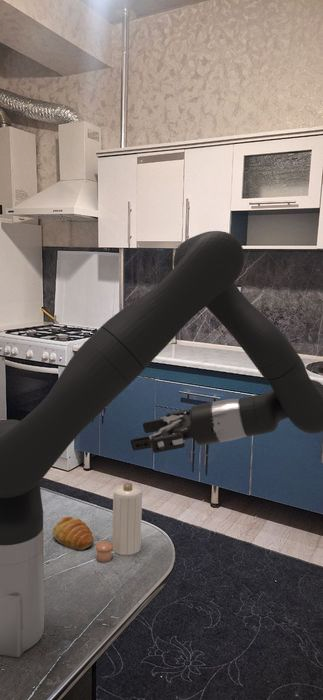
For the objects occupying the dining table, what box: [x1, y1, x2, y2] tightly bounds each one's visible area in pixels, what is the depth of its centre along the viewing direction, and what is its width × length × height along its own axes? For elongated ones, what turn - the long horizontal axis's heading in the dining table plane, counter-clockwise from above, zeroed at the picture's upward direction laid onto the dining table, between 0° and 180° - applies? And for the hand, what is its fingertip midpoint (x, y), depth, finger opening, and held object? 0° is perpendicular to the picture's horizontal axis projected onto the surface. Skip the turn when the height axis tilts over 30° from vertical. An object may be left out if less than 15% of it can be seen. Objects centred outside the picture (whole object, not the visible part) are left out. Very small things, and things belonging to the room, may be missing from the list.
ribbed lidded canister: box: [111, 482, 143, 556], centre depth 101 cm, size 6×6×14 cm
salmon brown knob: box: [95, 540, 113, 563], centre depth 98 cm, size 3×3×3 cm
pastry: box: [52, 516, 95, 551], centre depth 104 cm, size 9×7×4 cm
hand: (138, 435), depth 97 cm, fingers open, 8 cm apart
